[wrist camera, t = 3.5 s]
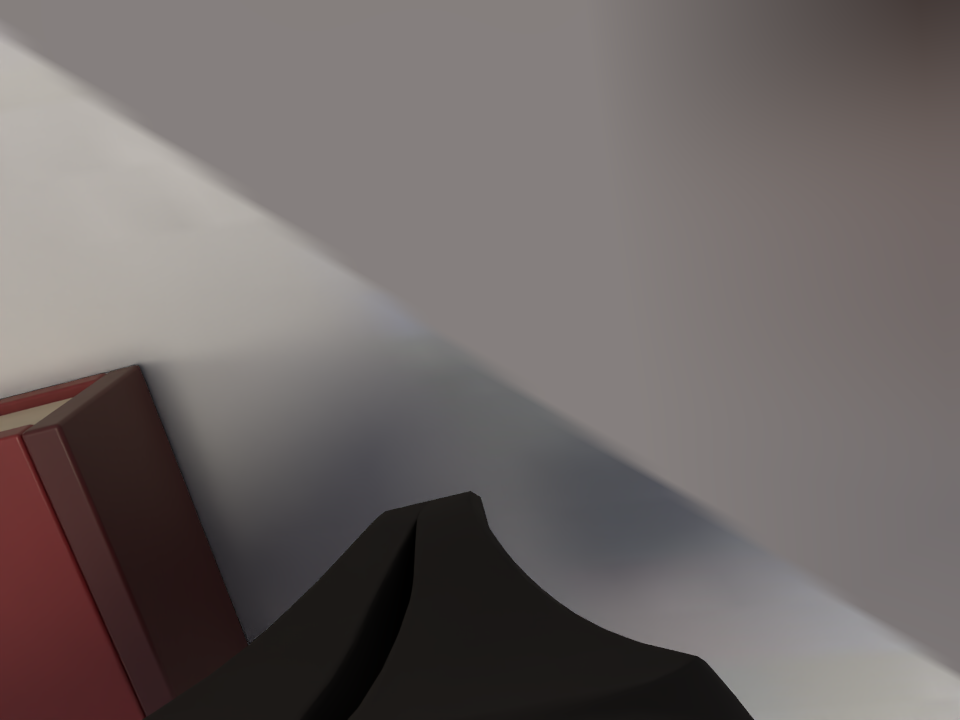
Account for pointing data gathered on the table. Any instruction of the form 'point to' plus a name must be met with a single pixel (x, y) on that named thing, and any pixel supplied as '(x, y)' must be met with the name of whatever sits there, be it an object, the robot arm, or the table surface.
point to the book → (101, 558)
